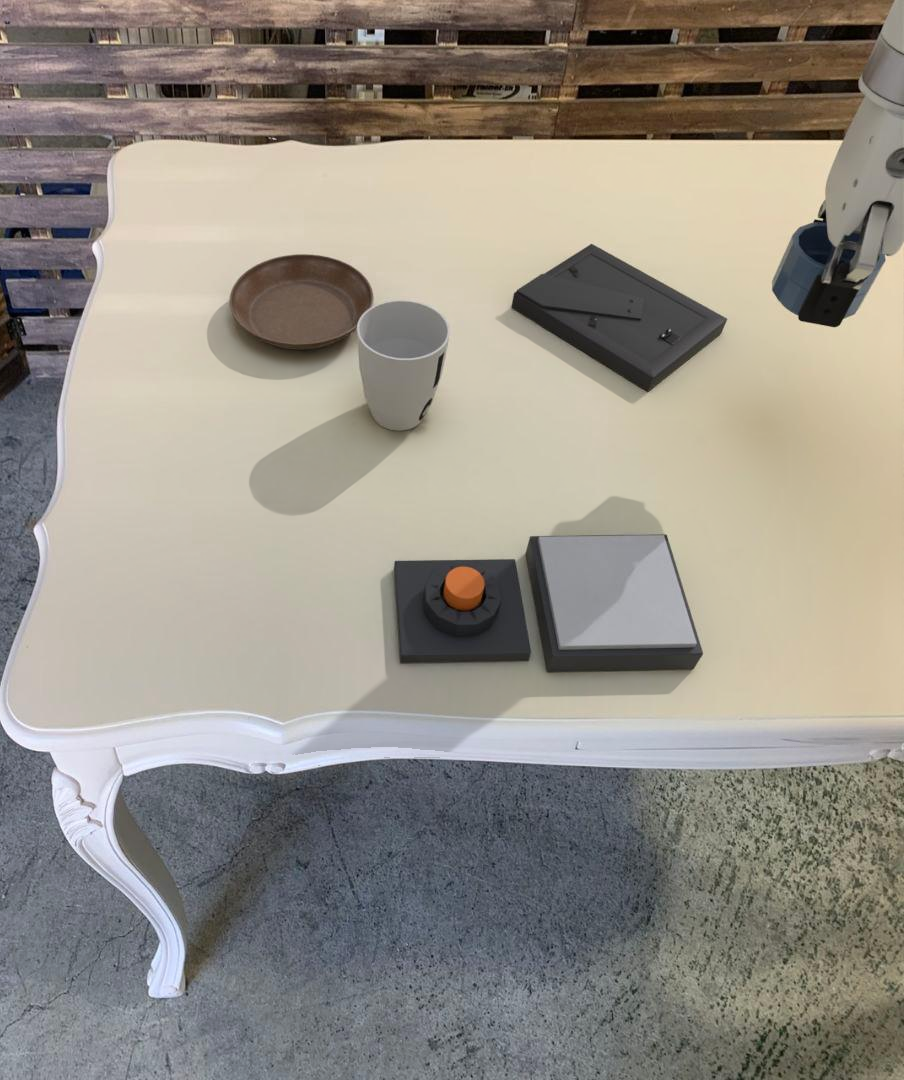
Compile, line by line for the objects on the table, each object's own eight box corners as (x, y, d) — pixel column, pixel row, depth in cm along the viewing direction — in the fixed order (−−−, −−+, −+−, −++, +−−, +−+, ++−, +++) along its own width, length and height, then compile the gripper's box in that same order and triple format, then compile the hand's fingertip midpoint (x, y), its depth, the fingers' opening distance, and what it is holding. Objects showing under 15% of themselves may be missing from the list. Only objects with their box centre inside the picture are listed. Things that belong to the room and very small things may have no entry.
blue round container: (854, 283, 76) (882, 230, 72) (858, 333, 72) (888, 280, 68) (769, 268, 77) (792, 215, 73) (768, 317, 73) (793, 264, 69)
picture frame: (511, 307, 96) (647, 392, 89) (514, 290, 94) (654, 375, 87) (587, 258, 102) (722, 333, 94) (591, 240, 100) (729, 316, 93)
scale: (658, 551, 76) (669, 529, 74) (693, 669, 69) (706, 649, 67) (525, 553, 76) (531, 531, 74) (546, 672, 69) (554, 652, 67)
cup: (441, 443, 84) (451, 361, 76) (354, 441, 84) (355, 358, 76) (438, 384, 89) (448, 301, 81) (356, 381, 89) (358, 298, 81)
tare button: (479, 579, 71) (482, 566, 70) (483, 610, 69) (486, 598, 68) (441, 579, 71) (443, 566, 70) (445, 611, 69) (447, 598, 68)
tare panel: (512, 567, 75) (518, 545, 73) (528, 661, 70) (535, 640, 67) (393, 568, 75) (395, 547, 72) (400, 663, 69) (402, 643, 67)
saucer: (209, 345, 91) (206, 324, 89) (262, 263, 100) (260, 241, 98) (347, 377, 89) (347, 356, 87) (389, 290, 98) (390, 268, 96)
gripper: (1006, 144, 54) (870, 369, 68) (969, 26, 65) (857, 243, 79) (876, 125, 55) (768, 350, 69) (860, 12, 66) (769, 228, 80)
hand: (816, 291), depth 74 cm, fingers closed on blue round container, 7 cm apart
